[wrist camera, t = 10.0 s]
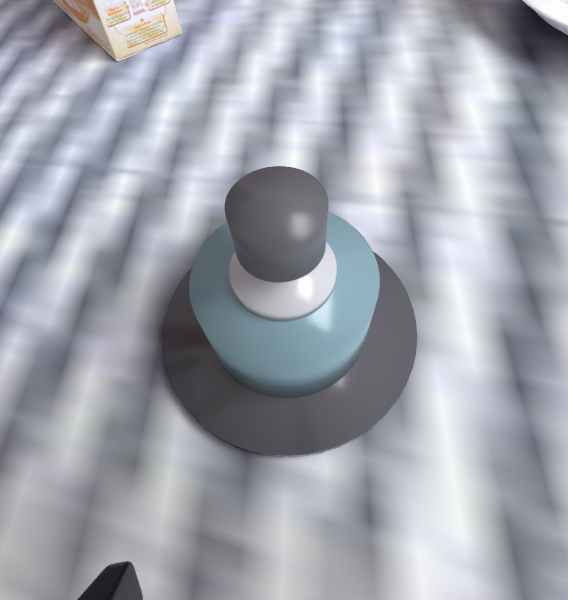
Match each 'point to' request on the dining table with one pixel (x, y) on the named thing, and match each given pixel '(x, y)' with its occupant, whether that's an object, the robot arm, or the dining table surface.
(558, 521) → the dining table surface
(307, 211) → the knob
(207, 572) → the dining table surface
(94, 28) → the coffeecake box
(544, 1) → the candlestick
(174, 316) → the tiered round stand
